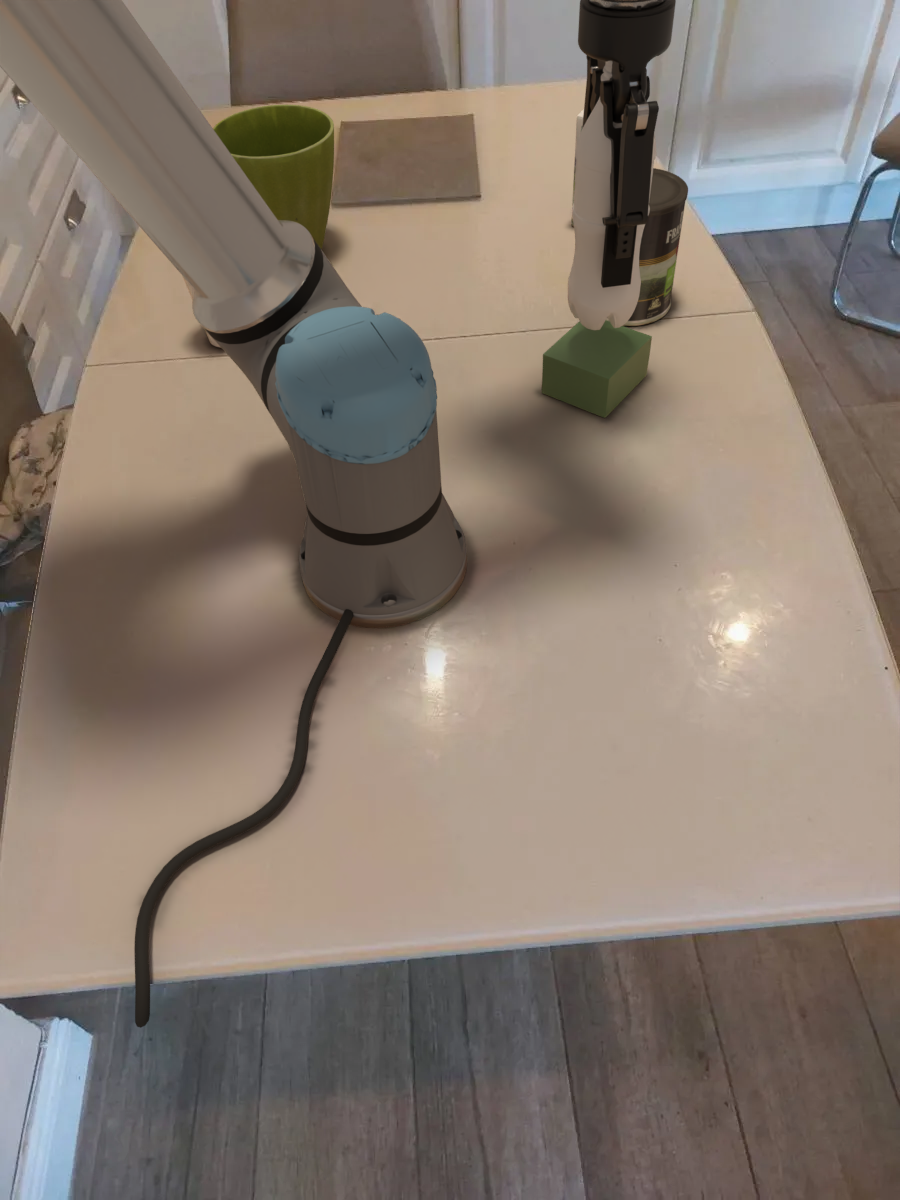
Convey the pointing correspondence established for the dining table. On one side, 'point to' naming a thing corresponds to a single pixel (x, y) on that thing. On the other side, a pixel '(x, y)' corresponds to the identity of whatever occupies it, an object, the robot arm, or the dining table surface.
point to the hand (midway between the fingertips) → (605, 262)
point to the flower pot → (286, 160)
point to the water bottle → (598, 229)
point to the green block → (595, 366)
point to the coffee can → (659, 247)
